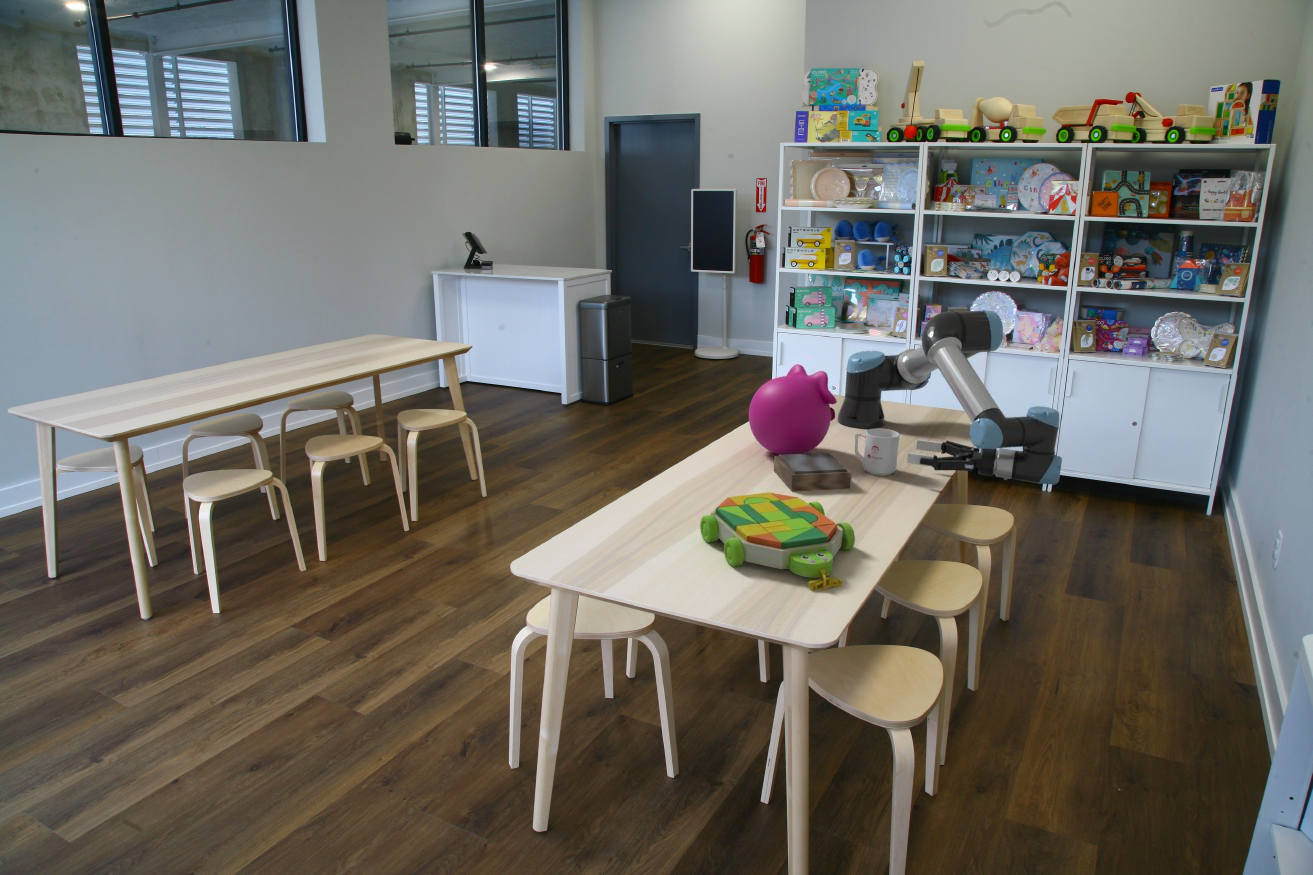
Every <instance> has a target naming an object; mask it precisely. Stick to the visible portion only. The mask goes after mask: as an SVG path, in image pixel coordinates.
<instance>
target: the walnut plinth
mask: <svg viewBox="0 0 1313 875" xmlns="http://www.w3.org/2000/svg"><path fill="white" fill-rule="evenodd" d="M773 472H774V473H775V475H777V477H778V478H779V479H780V480H781V481H782V482H783V484H784V485H785V486H786V487H787V488H788V489H789V490H790V492H801V491H805V492H806V491H818V490H820V491H821V490H823V491H824V490H839V489H840V490H842V489H843V490H845V489H846V490H847V489H851V481H852V472H851V471H850V470H849V469H848V468H847V467H846V466H844V465H843V463H841V462H840V461H839V460H838V459H837V458H836V457H835V456H833V455H832V454H831V453H829V452H818V453H817V452H816V453H815V452H812V453H804V454H786V455H780V454H778V455H774V459H773Z"/></svg>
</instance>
